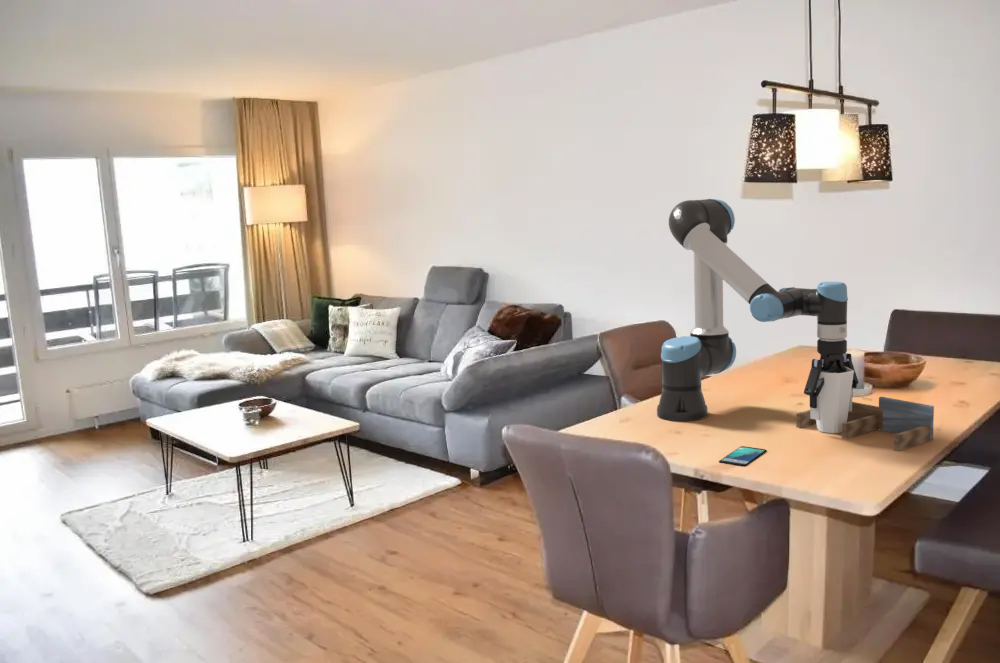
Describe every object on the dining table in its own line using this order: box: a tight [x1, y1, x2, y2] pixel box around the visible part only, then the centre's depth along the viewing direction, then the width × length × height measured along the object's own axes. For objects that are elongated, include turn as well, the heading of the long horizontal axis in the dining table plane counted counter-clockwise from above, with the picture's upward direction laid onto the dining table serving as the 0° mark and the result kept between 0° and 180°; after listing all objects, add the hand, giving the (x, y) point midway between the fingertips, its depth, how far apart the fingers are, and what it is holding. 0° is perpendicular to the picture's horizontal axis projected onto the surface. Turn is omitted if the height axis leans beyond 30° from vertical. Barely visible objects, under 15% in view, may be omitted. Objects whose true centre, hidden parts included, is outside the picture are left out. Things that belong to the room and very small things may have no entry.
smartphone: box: [718, 445, 767, 468], centre depth 208 cm, size 7×1×15 cm
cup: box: [809, 367, 855, 434], centre depth 226 cm, size 11×10×17 cm
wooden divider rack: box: [795, 396, 935, 452], centre depth 222 cm, size 15×31×9 cm, turn 32°
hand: (831, 415), depth 227 cm, fingers open, 13 cm apart
